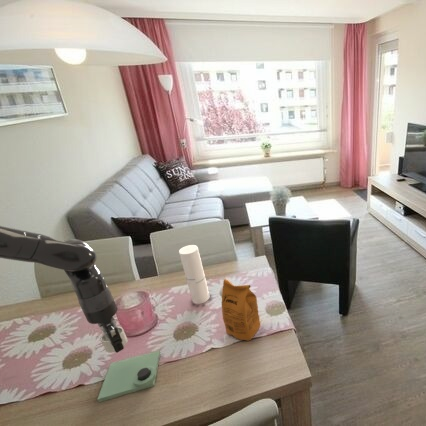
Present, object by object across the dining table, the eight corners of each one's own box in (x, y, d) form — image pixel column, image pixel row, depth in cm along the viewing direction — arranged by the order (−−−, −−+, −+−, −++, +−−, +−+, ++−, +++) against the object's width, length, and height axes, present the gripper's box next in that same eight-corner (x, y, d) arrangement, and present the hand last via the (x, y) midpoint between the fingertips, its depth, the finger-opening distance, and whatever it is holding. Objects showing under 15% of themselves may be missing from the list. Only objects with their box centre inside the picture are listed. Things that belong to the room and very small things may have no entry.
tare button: (137, 382, 90) (136, 378, 89) (140, 373, 92) (138, 369, 92) (149, 378, 90) (147, 374, 90) (151, 370, 93) (149, 366, 93)
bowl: (103, 356, 89) (97, 344, 87) (109, 341, 94) (103, 329, 92) (125, 350, 91) (120, 338, 88) (130, 336, 96) (125, 324, 94)
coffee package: (239, 316, 117) (230, 270, 108) (264, 325, 112) (257, 278, 103) (221, 334, 109) (210, 286, 100) (248, 345, 104) (239, 296, 95)
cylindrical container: (195, 293, 131) (182, 245, 121) (211, 292, 131) (199, 244, 121) (190, 304, 124) (176, 254, 114) (207, 303, 125) (195, 253, 115)
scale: (98, 404, 86) (94, 397, 85) (111, 366, 98) (108, 359, 97) (155, 387, 91) (153, 380, 89) (162, 352, 102) (160, 346, 101)
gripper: (76, 299, 87) (96, 340, 94) (88, 322, 78) (109, 365, 85) (105, 286, 92) (122, 326, 99) (120, 306, 83) (137, 349, 90)
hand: (116, 344), depth 92 cm, fingers closed on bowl, 6 cm apart
